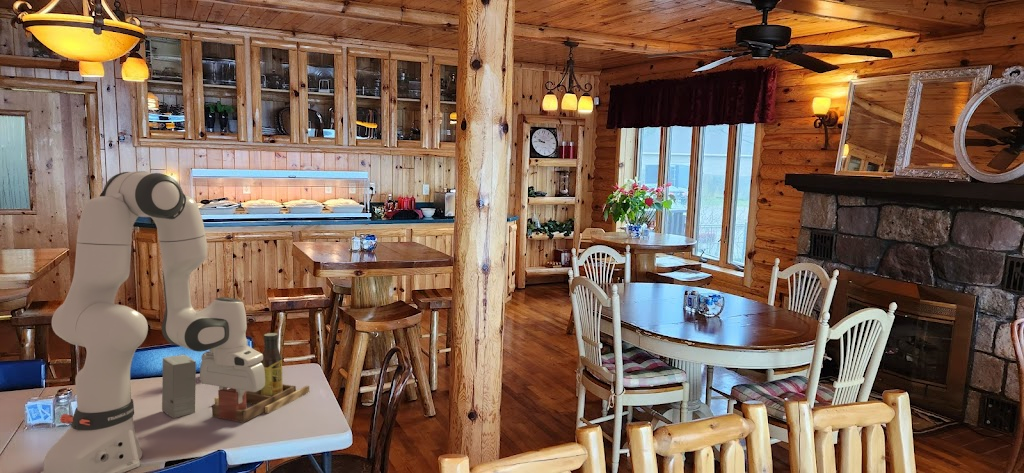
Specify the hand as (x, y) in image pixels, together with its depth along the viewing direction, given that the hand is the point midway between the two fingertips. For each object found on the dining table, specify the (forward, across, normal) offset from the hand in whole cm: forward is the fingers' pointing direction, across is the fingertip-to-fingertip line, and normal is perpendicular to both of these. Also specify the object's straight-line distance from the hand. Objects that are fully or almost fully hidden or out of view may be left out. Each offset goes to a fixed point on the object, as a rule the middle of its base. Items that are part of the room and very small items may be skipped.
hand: (232, 402), depth 187 cm
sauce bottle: (+5, 0, +16) cm, 17 cm away
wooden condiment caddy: (+4, 0, +9) cm, 10 cm away
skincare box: (+5, -17, -2) cm, 18 cm away
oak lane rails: (+5, -3, +15) cm, 16 cm away
